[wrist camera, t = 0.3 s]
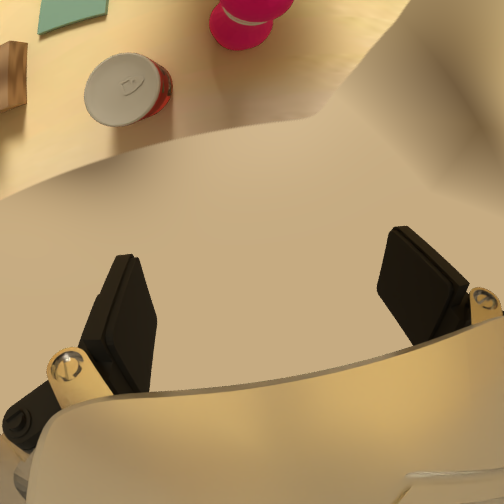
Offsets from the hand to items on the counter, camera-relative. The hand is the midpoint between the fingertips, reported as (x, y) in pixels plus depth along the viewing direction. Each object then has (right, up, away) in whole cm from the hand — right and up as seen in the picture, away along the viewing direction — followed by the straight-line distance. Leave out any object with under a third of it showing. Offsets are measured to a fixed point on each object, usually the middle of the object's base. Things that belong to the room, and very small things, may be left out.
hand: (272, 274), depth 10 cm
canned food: (-15, +22, +21) cm, 34 cm away
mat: (-25, +37, +10) cm, 46 cm away
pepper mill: (-3, +29, +19) cm, 35 cm away
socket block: (-38, +26, +14) cm, 49 cm away
